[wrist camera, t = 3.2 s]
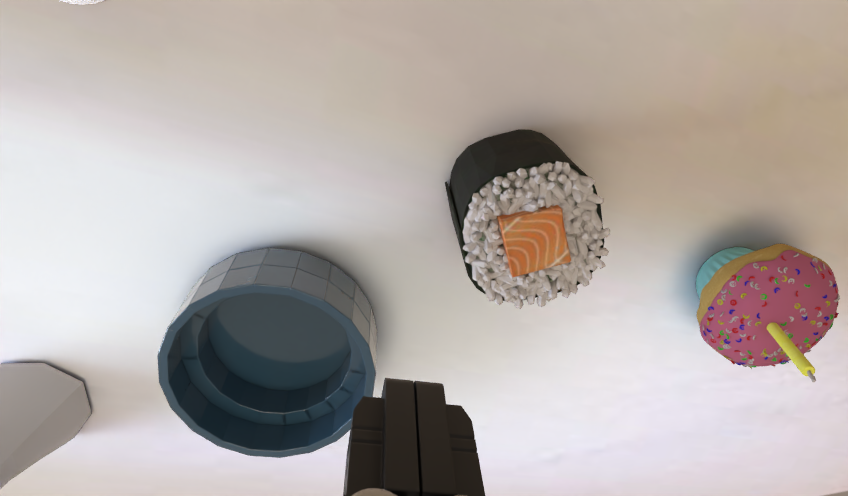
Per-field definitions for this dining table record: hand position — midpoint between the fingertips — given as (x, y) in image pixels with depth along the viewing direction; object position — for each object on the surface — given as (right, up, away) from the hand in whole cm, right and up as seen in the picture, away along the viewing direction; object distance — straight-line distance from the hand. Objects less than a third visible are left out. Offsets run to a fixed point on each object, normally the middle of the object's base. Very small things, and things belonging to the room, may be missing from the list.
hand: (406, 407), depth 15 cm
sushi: (+6, +8, +23) cm, 25 cm away
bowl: (-10, -2, +26) cm, 28 cm away
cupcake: (+22, +2, +26) cm, 35 cm away
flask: (-28, -7, +28) cm, 40 cm away
